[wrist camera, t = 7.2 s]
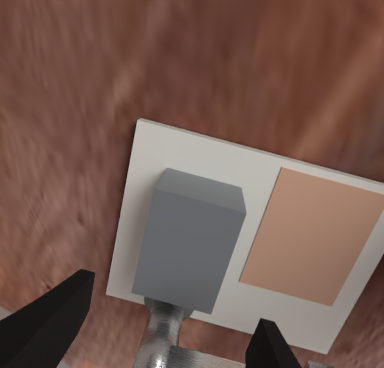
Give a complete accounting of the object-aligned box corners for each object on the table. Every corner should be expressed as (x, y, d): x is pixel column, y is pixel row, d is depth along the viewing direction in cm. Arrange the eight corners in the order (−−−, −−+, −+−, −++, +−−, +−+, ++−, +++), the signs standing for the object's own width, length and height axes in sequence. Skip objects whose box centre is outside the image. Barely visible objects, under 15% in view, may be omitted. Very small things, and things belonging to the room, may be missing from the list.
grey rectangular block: (241, 187, 19) (246, 213, 15) (212, 273, 21) (211, 314, 17) (167, 167, 19) (154, 188, 15) (147, 255, 21) (131, 292, 17)
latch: (288, 360, 23) (319, 485, 16) (143, 323, 23) (108, 430, 16) (311, 312, 21) (358, 427, 14) (154, 272, 21) (121, 366, 14)
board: (407, 189, 19) (418, 195, 18) (317, 352, 24) (321, 364, 23) (141, 118, 19) (136, 120, 18) (108, 295, 24) (103, 305, 23)
